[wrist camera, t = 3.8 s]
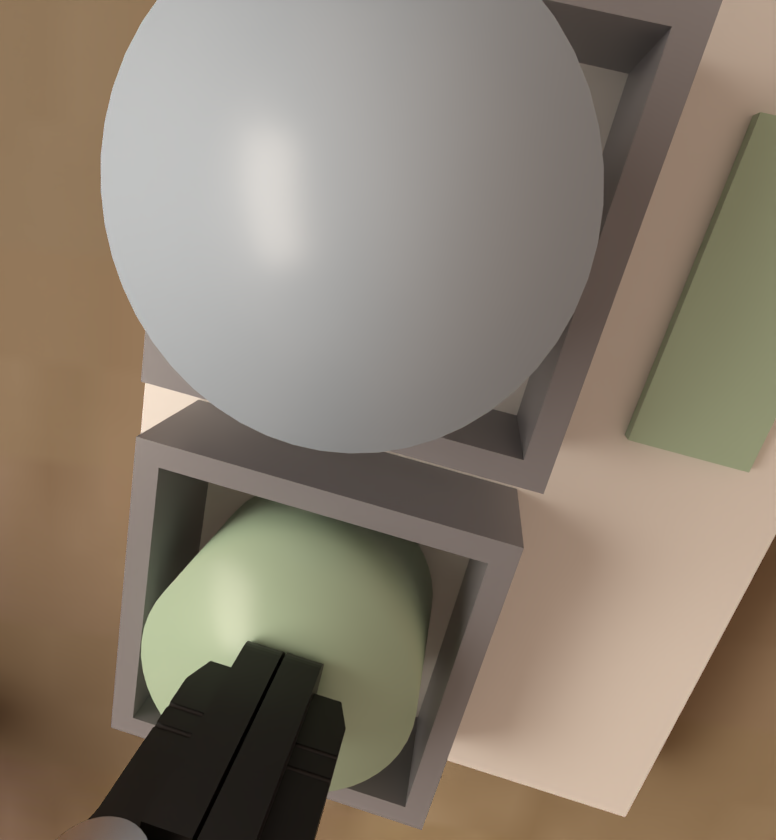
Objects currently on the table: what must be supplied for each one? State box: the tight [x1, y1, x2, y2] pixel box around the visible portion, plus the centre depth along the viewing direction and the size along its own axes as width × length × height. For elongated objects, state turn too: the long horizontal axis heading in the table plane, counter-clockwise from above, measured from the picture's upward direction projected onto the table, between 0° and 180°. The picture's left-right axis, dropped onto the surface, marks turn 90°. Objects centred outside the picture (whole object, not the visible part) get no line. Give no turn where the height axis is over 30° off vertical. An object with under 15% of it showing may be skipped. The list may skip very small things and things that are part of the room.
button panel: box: [111, 0, 776, 830], centre depth 11 cm, size 26×14×4 cm, turn 167°
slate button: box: [101, 0, 604, 453], centre depth 8 cm, size 5×5×3 cm
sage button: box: [141, 496, 433, 791], centre depth 12 cm, size 5×5×3 cm
